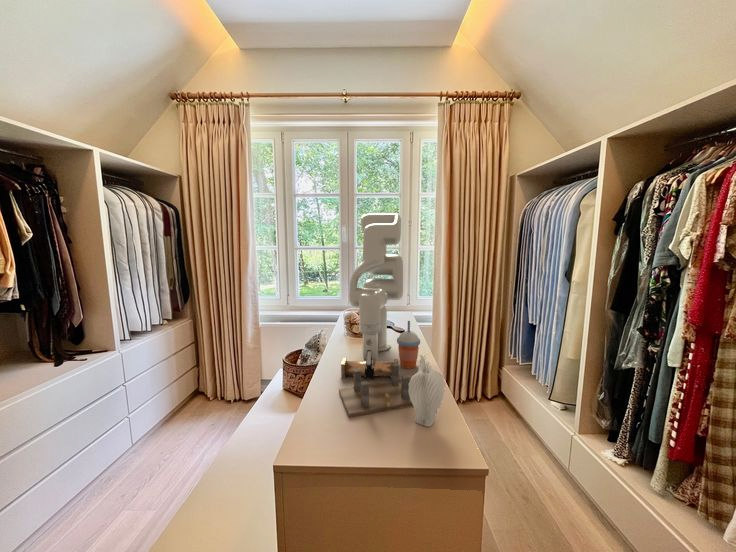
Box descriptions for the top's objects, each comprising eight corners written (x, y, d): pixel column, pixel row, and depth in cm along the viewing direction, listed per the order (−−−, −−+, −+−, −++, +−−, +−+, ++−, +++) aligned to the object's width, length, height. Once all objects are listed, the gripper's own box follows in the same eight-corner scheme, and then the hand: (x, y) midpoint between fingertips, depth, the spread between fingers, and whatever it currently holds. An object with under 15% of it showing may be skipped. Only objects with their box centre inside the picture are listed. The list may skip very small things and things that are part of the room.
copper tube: (341, 378, 106) (341, 364, 105) (343, 371, 111) (343, 357, 111) (397, 380, 105) (398, 365, 104) (397, 372, 110) (397, 358, 109)
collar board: (339, 392, 97) (338, 368, 96) (406, 381, 104) (407, 359, 102) (348, 417, 83) (348, 390, 82) (425, 403, 90) (426, 378, 89)
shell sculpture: (436, 435, 76) (438, 369, 73) (406, 425, 80) (407, 362, 77) (444, 418, 83) (447, 357, 81) (416, 409, 87) (418, 351, 85)
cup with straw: (419, 371, 111) (420, 325, 109) (395, 369, 113) (395, 323, 111) (420, 361, 120) (421, 318, 118) (397, 359, 122) (398, 317, 119)
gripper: (379, 335, 97) (379, 387, 99) (380, 320, 114) (380, 364, 116) (357, 334, 97) (357, 386, 100) (361, 319, 114) (361, 364, 117)
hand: (369, 374), depth 108 cm, fingers closed on copper tube, 5 cm apart
